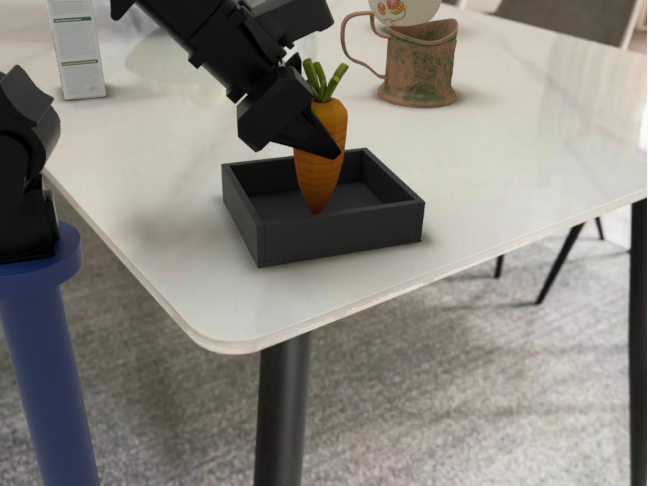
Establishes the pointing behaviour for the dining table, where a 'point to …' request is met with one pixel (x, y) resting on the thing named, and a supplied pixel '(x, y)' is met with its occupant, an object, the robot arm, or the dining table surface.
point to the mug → (415, 62)
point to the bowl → (404, 11)
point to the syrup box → (76, 48)
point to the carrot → (318, 171)
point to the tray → (333, 222)
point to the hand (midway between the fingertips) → (333, 145)
